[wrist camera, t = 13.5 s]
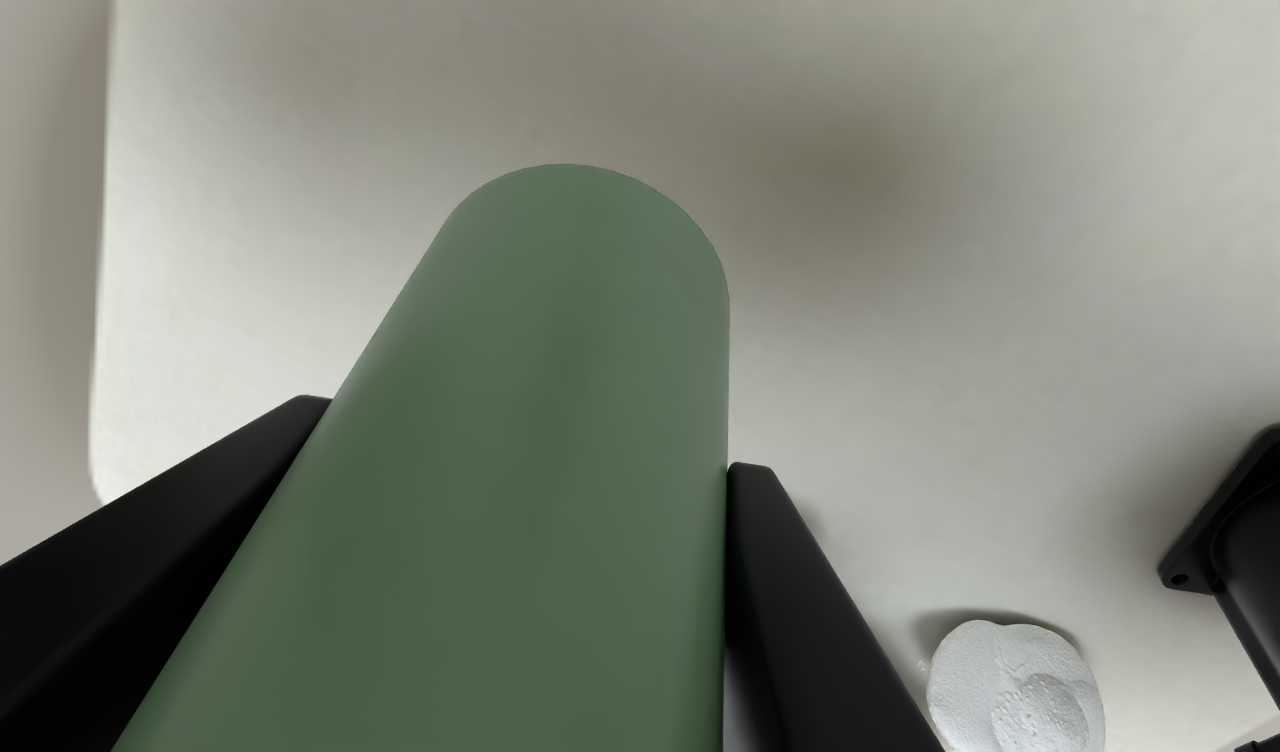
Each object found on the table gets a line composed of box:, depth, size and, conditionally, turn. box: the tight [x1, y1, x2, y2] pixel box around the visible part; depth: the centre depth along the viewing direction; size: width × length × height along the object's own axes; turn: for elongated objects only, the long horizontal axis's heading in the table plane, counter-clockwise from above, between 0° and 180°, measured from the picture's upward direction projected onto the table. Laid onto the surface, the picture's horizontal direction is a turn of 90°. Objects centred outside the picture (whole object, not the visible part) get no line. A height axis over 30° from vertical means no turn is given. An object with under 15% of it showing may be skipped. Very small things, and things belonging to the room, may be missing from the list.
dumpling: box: [918, 620, 1105, 752], centre depth 28 cm, size 7×5×4 cm
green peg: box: [110, 164, 730, 752], centre depth 7 cm, size 4×4×10 cm
